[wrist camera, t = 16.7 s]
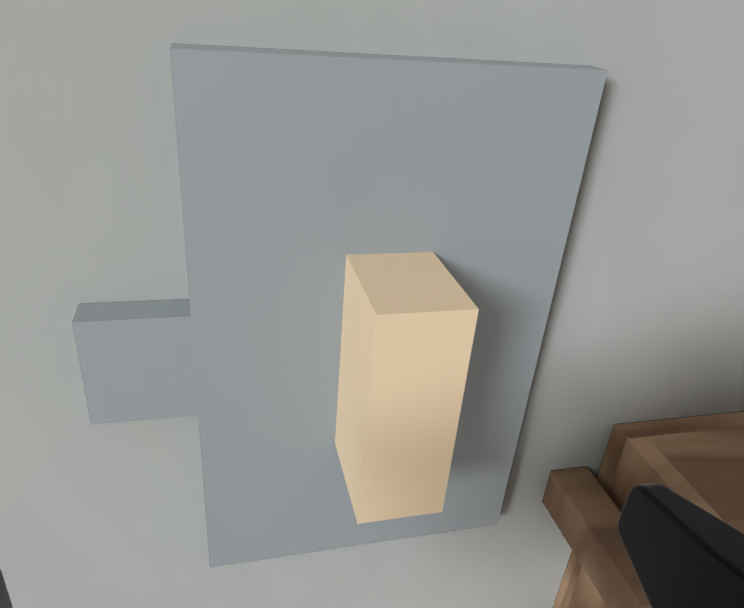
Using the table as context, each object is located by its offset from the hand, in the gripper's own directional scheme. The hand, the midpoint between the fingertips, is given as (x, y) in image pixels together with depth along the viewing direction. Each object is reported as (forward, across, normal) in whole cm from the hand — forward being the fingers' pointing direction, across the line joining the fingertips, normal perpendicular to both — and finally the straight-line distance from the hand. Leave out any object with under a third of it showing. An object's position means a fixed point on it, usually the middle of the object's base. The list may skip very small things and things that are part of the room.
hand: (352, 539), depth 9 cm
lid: (+13, -2, +5) cm, 14 cm away
